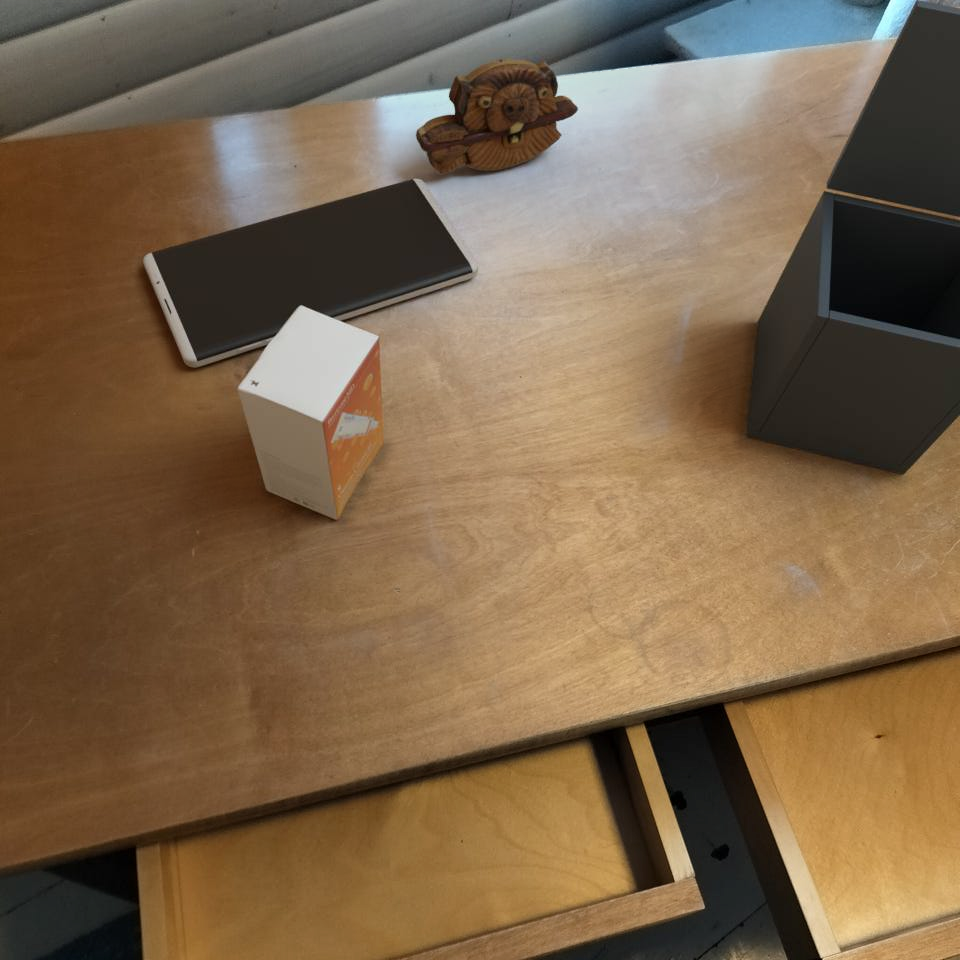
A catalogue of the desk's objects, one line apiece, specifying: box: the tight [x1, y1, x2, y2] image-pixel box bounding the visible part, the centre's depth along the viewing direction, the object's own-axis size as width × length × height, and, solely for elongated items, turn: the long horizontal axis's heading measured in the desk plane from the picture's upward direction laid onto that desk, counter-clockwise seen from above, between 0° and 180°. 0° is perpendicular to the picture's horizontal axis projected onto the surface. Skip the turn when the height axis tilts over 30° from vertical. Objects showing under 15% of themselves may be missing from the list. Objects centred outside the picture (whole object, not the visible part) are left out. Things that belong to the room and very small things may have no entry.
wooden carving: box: [415, 58, 579, 175], centre depth 82 cm, size 16×5×10 cm, turn 118°
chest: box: [745, 190, 960, 475], centre depth 67 cm, size 13×13×15 cm
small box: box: [237, 305, 385, 521], centre depth 61 cm, size 8×6×13 cm
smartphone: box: [142, 178, 480, 369], centre depth 76 cm, size 13×27×2 cm, turn 117°
